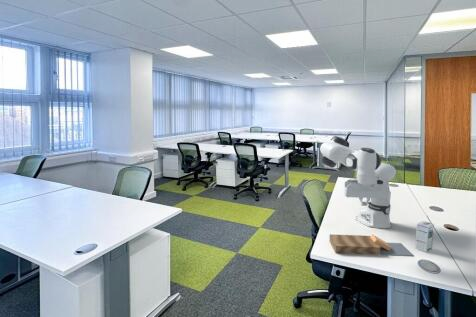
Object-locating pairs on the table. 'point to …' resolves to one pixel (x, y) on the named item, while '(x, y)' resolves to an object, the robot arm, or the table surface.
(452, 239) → the table surface
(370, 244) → the deck
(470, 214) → the table surface
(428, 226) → the syrup box
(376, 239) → the block
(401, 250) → the mat
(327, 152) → the robot arm
